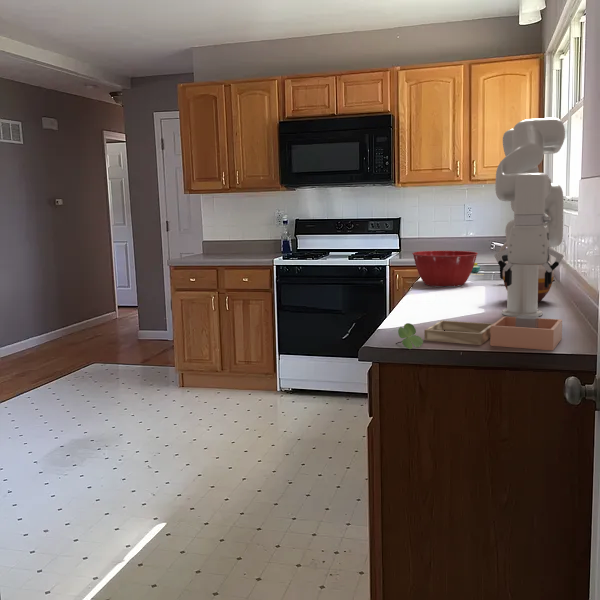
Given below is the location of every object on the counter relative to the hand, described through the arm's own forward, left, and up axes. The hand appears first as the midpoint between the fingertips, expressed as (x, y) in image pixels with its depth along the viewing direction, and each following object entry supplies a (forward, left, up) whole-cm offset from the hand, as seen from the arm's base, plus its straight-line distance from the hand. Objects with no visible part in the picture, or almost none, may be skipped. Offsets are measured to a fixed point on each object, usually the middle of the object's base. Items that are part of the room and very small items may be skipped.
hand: (527, 286), depth 174 cm
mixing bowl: (-104, -54, -15) cm, 119 cm away
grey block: (+1, 0, -14) cm, 14 cm away
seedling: (+16, -31, -15) cm, 38 cm away
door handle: (-114, -22, -15) cm, 117 cm away
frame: (+1, -18, -15) cm, 23 cm away
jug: (-68, -13, -15) cm, 71 cm away
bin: (+1, 0, -15) cm, 15 cm away
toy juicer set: (-154, -59, -16) cm, 166 cm away
